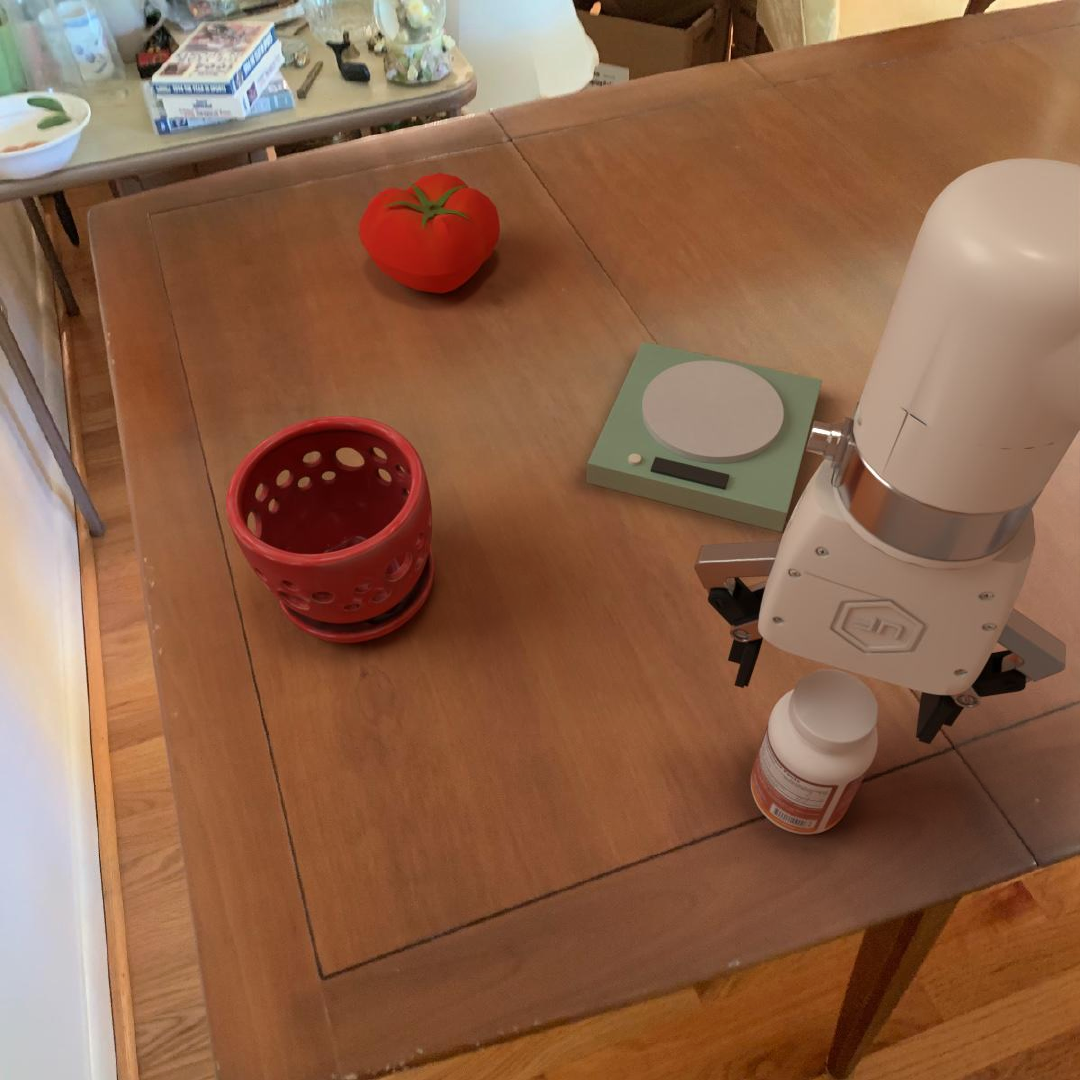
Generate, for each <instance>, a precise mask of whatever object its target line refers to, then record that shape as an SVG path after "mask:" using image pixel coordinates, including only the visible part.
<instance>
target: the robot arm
mask: <svg viewBox="0 0 1080 1080" xmlns="http://www.w3.org/2000/svg"><path fill="white" fill-rule="evenodd" d="M1079 432H1080V164H1078V163H1077V164H1076V163H1073V162H1068V161H1062V160H1057V159H1050V158H1049V159H1048V158H1038V157H1037V158H1036V157H1021V158H1008V159H1007V158H1006V159H1003V160H996V161H993V162H989V163H986V164H983V165H980V166H977V167H975V168H972V169H970V170H968V171H965V172H964V173H963V174H961V175H959V176H957V178H955V179H954V180H953V181H951V182H950V183H948V184H947V185H946V187H944V188H943V190H942V191H941V192H939V194H938V196H936V198H935V199H934V201H933V202H932V203H931V205H930V207H929V208H928V210H927V212H926V215H925V217H924V219H923V222H922V224H921V226H920V229H919V232H918V233H917V236H916V239H915V242H914V245H913V248H912V250H911V252H910V256H909V259H908V262H907V264H906V268H905V270H904V273H903V276H902V279H901V282H900V285H899V287H898V291H897V293H896V296H895V299H894V301H893V305H892V308H891V310H890V313H889V316H888V319H887V322H886V325H885V327H884V331H883V334H882V335H881V339H880V342H879V345H878V347H877V350H876V353H875V356H874V359H873V361H872V365H871V368H870V370H869V373H868V376H867V379H866V382H865V385H864V387H863V391H862V394H861V396H860V399H859V401H857V403H856V405H855V408H854V410H853V414H852V417H848V416H845V418H844V419H843V422H838V421H833V422H832V424H831V423H827V422H822V421H819V420H814V421H813V424H812V427H811V431H810V434H809V436H808V437H809V438H808V440H807V444H806V447H805V448H806V450H805V452H807V453H812V454H816V455H820V456H822V459H823V461H822V462H821V463H820V465H819V466H818V467H817V469H816V470H815V472H814V474H813V475H812V477H811V478H810V480H809V482H808V483H807V484H806V486H805V488H804V489H803V491H802V493H801V496H800V497H799V499H798V501H797V503H796V505H795V507H794V509H793V511H792V513H791V515H790V518H789V520H788V522H787V525H786V526H785V529H784V530H783V534H782V536H781V539H780V540H779V539H778V540H765V541H745V542H744V541H743V542H729V543H727V542H726V543H712V544H703V545H702V546H700V548H699V551H698V554H697V557H696V560H695V563H694V566H693V568H694V571H695V573H696V575H697V577H698V579H699V581H700V583H701V585H702V587H703V589H705V590H706V591H707V594H708V596H707V602H708V603H709V605H710V606H711V607H712V608H713V609H714V610H715V611H716V612H717V613H718V614H719V615H720V616H721V617H722V618H723V619H724V620H725V621H726V622H727V623H728V624H729V625H730V630H729V635H730V637H731V638H732V639H733V641H732V643H731V646H730V651H729V654H728V658H727V661H728V662H731V663H735V664H738V665H739V667H738V670H737V674H736V678H735V682H734V686H735V687H738V688H741V689H744V688H745V687H747V688H748V687H749V684H750V683H751V679H752V676H753V673H754V669H755V667H756V663H757V660H758V658H759V655H760V652H761V648H762V644H763V641H764V640H765V641H766V642H767V643H769V644H770V645H771V646H773V647H775V648H777V649H778V650H781V651H783V652H786V653H788V654H791V655H794V656H797V657H800V658H803V659H806V660H809V661H811V662H812V661H813V662H817V663H820V664H822V665H827V666H829V667H832V668H835V669H836V668H837V669H838V670H842V671H845V672H848V673H849V672H850V673H853V674H857V675H860V676H863V677H867V678H870V679H874V680H877V681H880V682H884V683H888V684H890V685H891V684H892V685H895V686H899V687H902V688H906V689H909V690H912V691H917V692H921V694H920V700H919V706H918V707H919V708H918V713H917V714H918V715H917V721H916V722H917V725H916V731H915V738H916V739H918V741H919V742H920V743H923V744H927V745H931V744H932V742H933V741H934V739H935V737H936V736H937V734H938V733H939V732H940V730H941V729H942V727H943V726H947V727H950V728H951V727H952V726H953V725H954V724H955V722H956V720H957V719H958V717H959V716H960V715H961V713H962V712H963V711H964V709H966V708H967V709H973V708H977V707H979V706H980V705H981V701H982V698H985V697H986V698H987V697H992V696H999V695H1005V694H1006V695H1007V694H1011V693H1019V692H1021V691H1023V690H1025V688H1026V686H1027V683H1031V682H1034V683H1036V682H1038V681H1041V680H1044V679H1046V678H1049V677H1051V676H1053V675H1057V674H1060V673H1061V672H1063V671H1065V669H1066V662H1067V660H1066V657H1067V656H1066V655H1067V647H1066V643H1065V642H1063V640H1061V639H1060V638H1058V637H1057V636H1056V635H1054V634H1052V633H1051V632H1050V631H1048V630H1047V629H1045V628H1044V627H1042V626H1041V625H1039V623H1036V622H1035V621H1033V620H1032V619H1031V618H1029V617H1027V616H1026V615H1025V614H1023V613H1022V612H1020V611H1019V610H1017V609H1016V608H1014V607H1015V606H1016V605H1015V604H1016V602H1017V600H1018V597H1019V595H1020V592H1021V590H1022V588H1023V586H1024V582H1025V580H1026V577H1027V574H1028V571H1029V568H1030V565H1031V563H1032V558H1033V555H1034V550H1035V547H1036V529H1035V519H1034V512H1033V508H1034V506H1035V505H1036V503H1037V501H1038V500H1039V498H1040V497H1041V495H1042V493H1043V492H1044V489H1045V488H1046V486H1047V484H1048V483H1049V482H1050V480H1051V478H1052V476H1053V475H1054V473H1055V471H1056V470H1057V468H1058V467H1059V465H1060V463H1061V461H1062V460H1063V459H1064V456H1065V455H1066V453H1067V452H1068V450H1069V448H1070V447H1071V446H1072V444H1073V442H1074V440H1075V438H1076V437H1077V435H1078V434H1079ZM757 577H762V578H763V577H767V579H765V580H763V581H760V582H757V583H755V584H752V585H749V586H747V585H746V584H745V583H744V581H743V580H741V578H757ZM997 643H998V644H999V645H1000V646H1002V647H1003V648H1004V649H1005V650H1000V651H995V652H993V651H994V649H995V648H996V645H997Z"/></svg>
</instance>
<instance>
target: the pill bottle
mask: <svg viewBox="0 0 1080 1080" xmlns="http://www.w3.org/2000/svg"><path fill="white" fill-rule="evenodd" d="M878 705H879V704H878V702H877V699H876V697H875V694H874V693H873V691H872V689H870V687H869V686H868V685H867V684H866V682H864V681H863V680H862V679H860V678H858V677H857V676H856V675H853V674H852V673H851V672H850V673H849V672H848V671H845V670H842V669H836V668H820V669H816V670H813V671H811V672H809V673H806V674H805V675H804V676H802V677H801V678H800V679H799V680H798V682H796V684H795V687H794V688H792V689H791V690H789V691H787V692H786V693H785V694H783V695H782V696H781V697H780V698H779V699H778V701H777V702H776V703H775V705H774V707H773V708H772V711H771V713H770V716H769V718H768V722H767V724H766V728H765V731H764V734H763V737H762V740H761V742H760V746H759V749H758V752H757V754H756V758H755V761H754V764H753V766H752V771H751V776H750V789H751V794H752V797H753V800H754V802H755V804H756V806H757V808H758V809H759V810H760V812H761V813H762V814H763V815H764V816H765V818H767V820H769V821H770V822H771V823H773V825H775V826H777V827H778V828H780V829H782V830H783V831H787V832H789V833H792V834H796V835H797V834H798V835H816V834H820V833H823V832H825V831H828V830H829V829H831V828H832V827H834V826H836V824H838V823H839V822H840V820H841V819H842V818H843V817H844V816H845V814H846V812H847V811H848V809H849V808H850V805H851V803H852V801H853V799H854V797H855V795H856V794H857V792H858V790H859V788H860V787H861V784H862V782H863V781H864V778H865V777H866V775H867V773H868V771H869V770H870V768H871V765H872V764H873V761H874V760H875V756H876V754H877V750H878V745H879V733H878V729H877V723H878V720H879V706H878Z"/></svg>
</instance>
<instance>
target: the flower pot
mask: <svg viewBox="0 0 1080 1080" xmlns="http://www.w3.org/2000/svg"><path fill="white" fill-rule="evenodd" d="M374 448H376V449H378V450H380V451H382V452H383V453H384V454H385V457H386V458H384V457H381V456H379V455H378V454H377V453H376V451H375V449H374ZM341 449H352V450H353V451H356V452H357V453H358V454H359V455H360V456H361V457H362V459H363V464H361V465H357V466H353V465H348V464H344V463H342V462H341V461H340V460H339V458H338V457H337V452H338V451H339V450H341ZM314 452H317V453H319V457H318V458H317V459H316V460H313V461H311V462H309V461H308V462H307V461H304V458H305V457H306V455H308V454H311V453H314ZM419 454H420V453H418V451H417V450H416V448H415V447H414V446H413V444H412V443H411V442H410V440H408V439H407V438H406V437H405V436H404V435H403V434H402V433H400V432H399V431H398V430H396V429H394V428H393V427H391V426H389V425H388V424H385V423H383V422H381V421H378V420H375V419H371V418H368V417H367V418H366V417H361V416H355V415H354V416H353V415H329V416H321V417H316V418H311V419H308V420H304V421H301V422H297V423H295V424H292V425H290V426H288V427H285V428H283V429H282V430H279V431H278V432H275V433H274V434H273V435H271V436H269V437H268V438H266V439H265V440H263V441H262V442H260V443H259V444H258V445H257V446H255V447H254V448H253V449H252V450H251V451H250V452H248V453H247V455H246V456H244V458H243V459H242V460H241V462H240V463H239V464H238V466H237V468H236V469H235V471H234V473H233V474H232V477H231V478H230V481H229V484H228V488H227V491H226V498H225V511H226V516H227V520H228V523H229V526H230V529H231V531H232V533H233V535H234V538H235V540H236V543H237V544H238V546H239V549H240V550H241V552H242V554H243V556H244V557H245V559H246V562H247V563H248V565H249V566H250V567H251V569H252V571H253V572H254V573H255V574H256V576H257V577H258V578H259V580H260V581H261V582H262V584H263V585H264V586H265V588H266V589H267V590H268V591H269V592H270V593H271V594H272V595H273V596H274V597H275V598H276V599H277V600H278V603H279V605H280V608H281V610H282V611H283V613H284V614H285V616H286V618H287V619H288V621H290V622H291V623H292V624H293V625H294V626H295V627H296V628H298V629H299V630H301V631H302V632H303V633H305V634H307V635H309V636H312V637H315V638H316V639H319V640H323V641H327V642H331V643H341V644H353V643H361V642H366V641H369V640H370V641H371V640H374V639H378V638H381V637H383V636H385V635H387V634H390V633H391V632H393V631H395V630H398V628H400V627H401V626H403V625H404V624H405V623H407V622H408V621H409V620H411V618H413V616H415V614H416V613H418V611H419V610H420V609H421V607H422V606H423V604H424V603H425V601H426V600H427V598H428V596H429V594H430V592H431V589H432V585H433V583H434V579H435V571H436V570H435V567H436V566H435V558H434V553H433V550H432V547H431V546H432V545H431V543H432V535H433V509H432V500H431V492H430V486H429V480H428V476H427V473H426V470H425V466H424V463H423V460H422V458H421V457H420V455H419ZM380 470H383V471H385V472H386V473H388V475H389V476H390V481H388V480H386V479H384V478H383V477H382V476H381V473H380ZM284 471H288V478H287V480H285V481H284V482H283V483H281V484H280V485H279V484H278V481H277V480H278V478H279V476H280V475H281V473H283V472H284ZM328 472H331V473H334V476H333V478H331V479H325V478H323V475H324V474H326V473H328ZM303 478H309V480H308V483H307V484H306V485H304V486H299V482H300V480H302V479H303ZM260 485H262V489H261V492H260V494H259V496H256V495H257V494H256V493H257V490H258V488H259V486H260ZM272 500H273V502H274V503H273V506H272V508H271V509H270V503H271V501H272ZM251 513H252V515H253V518H254V526H255V527H254V533H253V532H252V531H251V529H250V528H249V525H248V522H249V516H250V514H251Z"/></svg>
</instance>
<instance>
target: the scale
mask: <svg viewBox="0 0 1080 1080" xmlns="http://www.w3.org/2000/svg"><path fill="white" fill-rule="evenodd" d="M822 384H823V380H822V379H819V378H814V377H810V376H805V375H801V374H795V373H791V372H787V371H783V370H777V369H772V368H767V367H763V366H759V365H756V364H755V365H754V364H749V363H745V362H740V361H736V360H731V359H726V358H721V357H718V356H712V355H709V354H704V353H699V352H694V351H690V350H685V349H680V348H675V347H671V346H666V345H663V344H658V343H653V342H648V341H642V342H641V344H640V346H639V348H638V351H637V352H636V355H635V357H634V360H633V362H632V364H631V366H630V368H629V370H628V373H627V374H626V377H625V380H624V382H623V384H622V386H621V388H620V390H619V392H618V395H617V397H616V399H615V401H614V404H613V405H612V408H611V410H610V412H609V415H608V417H607V418H606V421H605V423H604V426H603V428H602V430H601V432H600V435H599V437H598V439H597V441H596V442H595V445H594V448H593V450H592V452H591V455H590V457H589V458H588V461H587V465H586V483H587V484H589V485H593V486H597V487H600V488H604V489H609V490H613V491H616V492H621V493H625V494H629V495H633V496H636V497H639V498H645V499H649V500H652V501H657V502H659V503H665V504H668V505H671V506H676V507H679V508H684V509H688V510H692V511H696V512H700V513H703V514H708V515H712V516H715V517H719V518H723V519H728V520H732V521H736V522H738V523H743V524H745V525H746V524H747V525H751V526H755V527H759V528H763V529H766V530H770V531H775V532H778V533H783V532H784V528H785V524H786V522H787V517H788V514H789V510H790V506H791V502H792V499H793V494H794V491H795V487H796V483H797V479H798V476H799V471H800V467H801V464H802V461H803V457H804V453H805V448H806V446H807V443H808V439H809V438H808V437H809V435H810V434H809V433H810V429H811V426H812V422H813V418H814V414H815V410H816V407H817V402H818V399H819V395H820V392H821V388H822Z"/></svg>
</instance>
